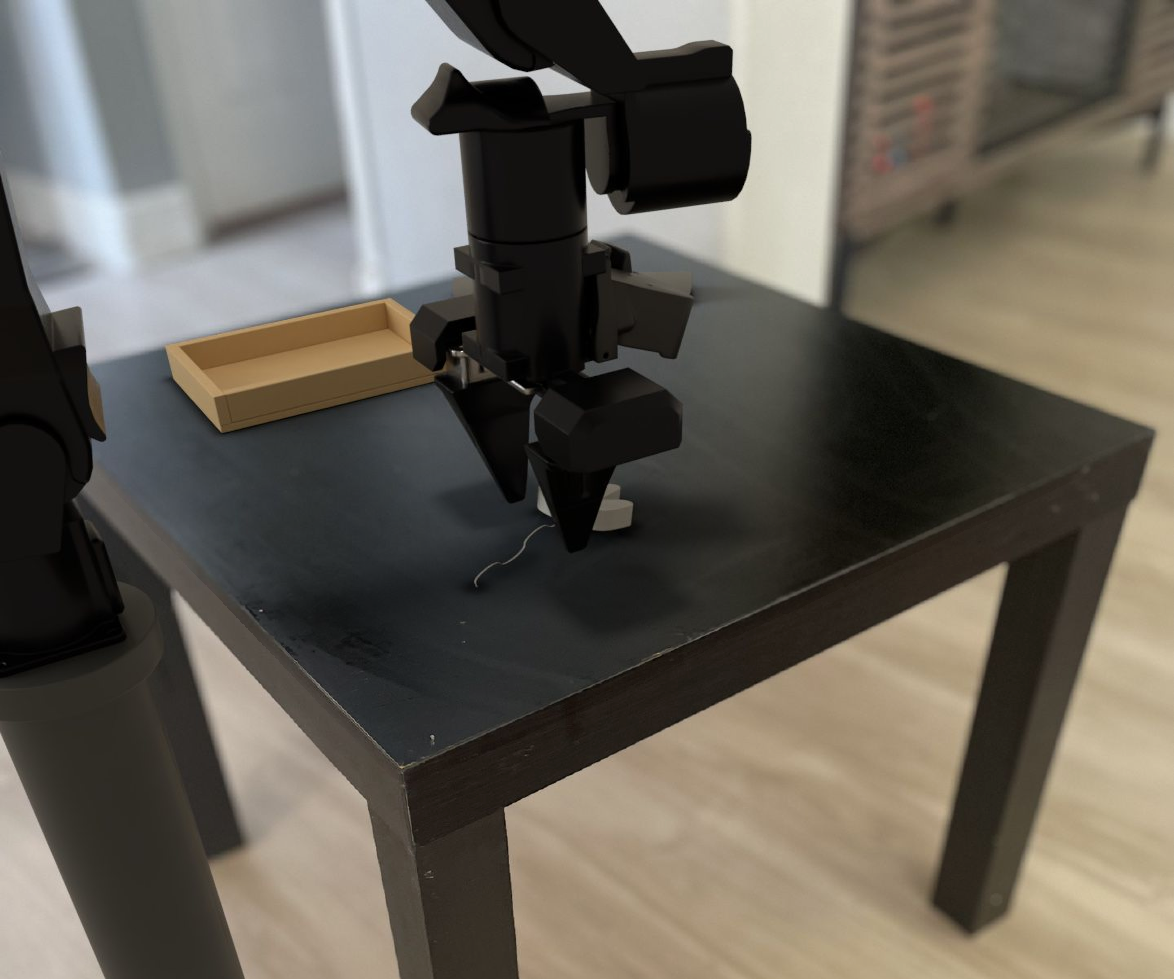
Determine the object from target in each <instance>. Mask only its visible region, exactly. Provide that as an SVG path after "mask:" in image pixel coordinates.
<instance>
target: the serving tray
mask: <svg viewBox="0 0 1174 979" xmlns="http://www.w3.org/2000/svg"><path fill="white" fill-rule="evenodd" d="M415 315H416V313H414V312H412V311H410V310H409V309H408V308H406V307H405V306H403V305H401V304H400V303H398V302H397V301H396V300H394V299H393V298H391V297H388V298H383V299H378V300H373V301H369V302H364V303H358V304H354V305H350V306H345V307H340V308H335V309H330V310H326V311H320V312H317V313H311V314H306V315H302V316H297V317H293V318H288V319H285V320H279V321H274V322H270V323H269V322H268V323H265V324H260V325H255V326H250V327H246V328H240V329H236V330H231V331H227V332H222V333H218V334H212V335H207V336H202V337H198V338H193V339H190V340H184V341H179V342H176V343H175V342H174V343H171V344H166V345H164V346H165V351H166V355H167V358H168V362H169V363H168V364H169V367H170V371H171V373H172V379H173V380H174V382H175V383H176V384H177V385H178V386H179V388H181V389H182V390H183V392H184V393H185V394H186V395H187V396H188V397H189V398H190V400H192V401H193V403H194V404H195V405H196V406H197V407H198V408H199V409H200V411H201V412H203V414H204V415H205V416H206V417H207V419H208V420H209V421H211V423H212V424H213V425H214V426H215V427H216V428H217V429H218V431H219V432H220V433H221V434H225V433H228V432H234V431H236V430H241V429H244V428H249V427H253V426H254V427H255V426H257V425H262V424H266V423H270V422H274V421H277V420H278V421H279V420H281V419H286V418H291V417H295V416H298V415H302V414H303V415H304V414H307V413H310V412H315V411H318V410H323V409H327V408H331V407H335V406H341V405H344V404H348V403H351V402H355V401H360V400H365V399H368V398H372V397H376V396H380V395H385V394H388V393H389V394H390V393H393V392H396V391H400V390H405V389H410V388H413V387H418V386H421V385H426V384H430V383H435V382H434V376H435V375H436V374H438V373H441V372H445V371H446V363H445V365H444V367H443V369H442V370H439V371H435V372H432V371H430V370H429V369H428V368H426V367H425V366H424V365H422V364H421V363H419V362H418V361H417V360H415V359H414V358H413V352H412V344H411V335H410V327H409V324H410V323H411V321H412V320H413V318H414V317H415Z"/></svg>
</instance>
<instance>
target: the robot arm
mask: <svg viewBox="0 0 1174 979" xmlns="http://www.w3.org/2000/svg"><path fill="white" fill-rule="evenodd" d="M424 1H425V3H427V5H428V6H429V7H430V8H431V9H432V10H433V12H434V13H435V14H436V16H438V17H439V19H440V20H441V21H442V22H443V23H444V25H446V27H447V28H448V29H449V31H451V33H452V34H453V35H454V36H455V37H456V38H458V40H460V41H462V42H464V43H466V44H467V45H469V46H471V47H472V48H474V49H476V50H478V51H479V52H481V53H482V54H484V55H487V56H488V57H490V58H492V59H493V60H495V61H497V62H499V63H501V64H503V65H505V66H506V67H507V68H510V69H512V70H514V71H518V72H523V73H531V72H536V71H540V70H545V69H546V70H547V69H549V70H552V71H553V72H555V73H557V74H560V75H562V76H563V77H565V78H567V79H569V80H571V81H573V82H575V83H576V84H579V85H581V86H583V87H585V88H587V89H588V90H589V91H581V92H580V91H579V92H572V93H561V94H547V95H544V94H543V93H542V91H541V89H540V87H539V85H538V84H537V82H536V81H535V79H533V78H532V77H530V76H528V75H523V76H513V77H503V78H493V79H492V78H491V79H484V80H475V81H469V80H468V79H467V78H466V77H465V75H464V74H463V72H462V71H461V70H460V69H458V68H457V67H455V66H454V65H452V64H450V63H449V62H442V63H441V64H439V67H438V68H437V72H436V75H435V76H434V79H433V81H432V82H431V84H430V85H429V86H428V87H427V89H426V90H425V91H423V93H422V94H421V95H420V96H419V97H418V99H417V100H416V101H415V102H413V104H412V105H411V107H410V116H411V118H412V119H413V120H414V121H415V122H416V123H417V124H418V125H420V126H421V127H422V128H423V129H425V130H426V131H428V133H429V134H430V135H432V136H436V137H438V136H449V135H457V134H458V141H459V148H460V149H459V151H460V162H461V174H462V175H461V176H462V185H463V198H464V208H465V219H466V230H467V232H466V233H467V241H468V242H467V243H468V244H465V245H460V246H456V247H452V248H453V257H454V267H455V268H454V269H455V270H456V271H457V272H459V273H461V274H463V275H464V276H465V277H467V278H468V277H470V278H471V279H472V289H473V294H469V295H465V296H460V297H456V298H454V297H451V298H446V299H443V300H437V301H433V302H428V303H423V304H421V306H420V307H419V309H418V311H417V312H416V313H415V317H414V318H413V320H412V321H411V323H410V324H409V327H410V335H411V344H412V352H413V358H414V359H415V360H417V361H418V362H419V363H421V364H422V365H424V366H425V367H426V368H428V369H429V370H430V371H432V372H435V371H439V370H442V369H443V367H444V365H445V363H446V371H445V372H441V373H438V374H436V375H435V376H434V382H433V383H434V384H435V386H436V387H437V388H438V389H439V391H441V393H442V394H443V396H444V397H445V399H446V401H447V402H448V404H449V406H450V407H451V409H452V411H453V413H454V415H455V416H456V418H457V419H458V421H459V422H460V424H461V426H462V427H463V429H464V430H465V432H466V434H467V436H468V437H469V439H470V441H471V443H472V444H473V446H474V448H475V449H476V451H477V453H478V454H479V455H478V456H480V459H481V460H482V461H483V463H484V465H485V467H486V468H487V470H488V472H489V474H490V476H491V477H492V479H493V481H494V484H496V486H497V488H498V490H499V492H500V493H501V495H502V497H503V498H504V500H505V502H507V503H508V504H515V503H519V502H522V501H524V500H525V499H526V496H527V485H528V475H529V474H528V473H529V464H530V466H531V469H532V471H533V474H534V476H535V478H536V482H537V483H538V487H539V486H540V489H541V491H542V494H543V496H544V499H545V501H546V504H547V506H548V509H549V512H550V514H551V516H550V517H551V519H552V522H553V525H555V526H554V527H555V529H556V531H557V533H558V536H559V538H560V540H561V543H562V545H563V547H564V549H565V551H566V552H568V553H569V554H574V553H577V552H578V553H579V552H580V551H583V550H585V549H586V548H587V547H588V545H589V542H590V538H591V535H592V532H593V531H594V530H593V527H594V524H595V521H596V518H597V515H598V512H599V509H600V506H601V503H602V500H603V497H604V494H605V491H606V489H607V486H608V484H610V481H611V479H612V477H613V474H614V472H615V470H616V469H617V466H621V465H624V464H627V463H631V462H634V461H638V460H641V459H644V458H648V457H652V456H655V455H658V454H662V453H666V452H668V451H672V450H676V449H679V448H680V446H681V445H682V442H683V411H684V409H683V407H684V406H683V402H681V401H680V400H679V399H678V398H677V397H676V396H675V394H673V393H672V392H670V391H669V389H667V388H665V387H664V386H662V385H660V384H659V383H657V382H655V381H653V380H651V379H650V378H648V377H647V376H644V375H643V374H641V373H639V372H638V371H636V370H634V369H632V368H631V367H628V366H627V367H624V368H621V369H616V370H612V371H608V372H604V373H600V374H597V375H592V376H591V375H589V374H587V373H586V372H584V370H586V363H590V362H595V363H596V364H602V363H605V362H609V361H613V360H617V359H619V347H618V346H620V347H624V348H627V349H628V348H629V349H634V350H641V351H644V352H645V351H646V352H650V353H651V352H652V353H656V354H657V353H658V354H659V357H660V358H662V359H668V360H677V359H678V355H679V352H680V350H681V346H682V341H683V339H684V335H685V332H686V329H687V326H688V322H689V319H690V315H691V311H692V309H693V306H694V302H695V297H694V296H692V295H691V294H690V295H689V294H687V293H684V292H682V291H680V290H678V289H676V288H674V287H672V286H670V285H667V284H665V283H663V282H661V281H659V280H656V279H654V278H651V277H648V276H645V275H643V274H641V273H640V271H636V270H635V271H634V270H633V267H632V259H631V253H630V252H629V250H626V249H624V248H622V247H621V246H617V245H615V244H613V243H609V242H605V241H602V240H596V239H591V240H590V241H589V230H588V229H589V226H588V196H587V195H588V194H587V178H588V182H589V184H590V186H591V188H592V190H593V191H594V193H595V194H596V195H598V196H603V195H607V198H608V200H609V202H610V204H611V206H612V208H613V209H614V210H615V212H616V213H617V214H619V215H621V216H629V215H636V214H644V213H652V212H659V211H666V210H672V209H674V210H675V209H681V208H688V207H689V208H690V207H696V206H703V205H711V204H719V203H725V202H726V203H727V202H732V201H734V200H735V199H737V198H738V197H739V196H740V194H741V193H742V191H743V189H744V187H745V184H746V182H747V178H748V174H749V171H750V165H751V156H752V142H753V141H752V140H753V138H752V137H753V136H752V132H751V130H750V129H749V128H748V122H747V121H748V120H747V113H746V108H745V104H744V103H745V102H744V100H743V96H742V92H741V89H740V87H739V84H738V83H737V80H736V78H735V77H734V75H733V66H734V65H733V63H734V61H733V60H734V50H733V48H732V47H731V46H730V45H729V44H726V43H723V42H720V41H719V40H714V39H706V40H697V41H691V42H687V43H684V44H683V45H680V46H678V47H674V48H666V49H665V48H664V49H655V50H647V51H637V52H636V51H634V52H633V50H632V49H631V48H630V46H629V45H628V43H627V42H626V40H625V39H624V37H623V35H622V34H621V32H620V30H618V28H617V26H616V24H615V23H614V22H613V20H612V19H611V17H610V16H609V14H608V12H607V11H606V9H605V8H604V6H603V5H602V4H601V2H600V1H599V0H424ZM87 359H88V357H87V345H86V337H85V326H84V318H83V309H82V307H81V306H80V305H79V306H78V305H77V306H72V307H67V308H64V309H60V310H56V311H51V309H50V307H49V305H48V303H47V301H46V299H45V297H44V295H43V293H42V292H41V289H40V287H39V285H38V283H37V281H36V279H35V277H34V275H33V272H32V270H31V268H30V265H29V262H28V258H27V254H26V249H25V244H24V240H23V237H22V233H21V229H20V224H19V220H18V215H17V212H16V208H15V204H14V201H13V196H12V191H11V188H10V183H9V179H8V175H7V171H6V166H5V163H4V159H3V154H2V151H1V149H0V678H4V677H8V676H11V675H14V674H18V673H21V672H24V671H28V670H31V669H34V668H38V667H41V666H44V665H48V664H51V663H54V662H58V661H61V660H64V659H68V658H71V657H74V656H78V655H81V654H84V653H88V652H91V651H94V650H98V649H101V648H104V647H108V646H111V645H114V644H118V643H121V642H123V641H124V640H126V638H127V634H126V631H125V628H124V626H123V625H122V623H121V621H120V619H119V617H118V616H117V614H121V613H123V611H124V609H125V606H124V603H123V600H122V597H121V594H120V591H119V587H118V584H117V579H116V575H115V571H114V569H113V565H112V562H111V559H110V556H109V553H108V550H107V546H106V543H105V541H104V539H103V537H102V536H101V534H100V532H99V530H98V529H97V528H96V526H95V523H94V522H92V521H90V520H88V519H85V520H84V516H83V514H82V513H81V511H80V509H79V508H78V506H77V504H76V502H75V500H74V499H76V497H78V495H79V494H80V493H81V492H82V490H83V489H84V487H85V486H86V485H87V484H88V483H89V482H90V481H91V478H92V474H93V470H94V458H93V457H94V456H93V445H92V444H93V442H92V440H95V441H97V442H100V443H104V442H106V441H107V431H106V424H105V423H106V422H105V416H104V415H105V414H104V407H103V399H102V398H103V397H102V391H101V385H100V383H99V382H98V380H97V379H96V377H95V376H94V374H93V373H92V371H91V370H90V366H89V364H88V360H87ZM535 396H538V397H540V398H541V399H540V400H539V402H538V403H537V405H536V406H535V408H534V409H533V424H534V434H535V436H536V438H537V440H535V441H531V442H530V423H531V422H530V419H531V417H530V416H531V404H532V402H533V400H534V398H535Z"/></svg>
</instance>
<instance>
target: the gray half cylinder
mask: <svg viewBox="0 0 1174 979" xmlns="http://www.w3.org/2000/svg"><path fill="white" fill-rule="evenodd" d="M639 273H641V274H643V275H645V276H648V277H651V278H654V279H656V280H659V281H661V282H663V283H665V284H667V285H670V286H672V287H674V288H676V289H678V290H680V291H682V292H684V293H687V294H689V295H691V293H692V289H693V281H694V280H693V272H692V270H679V271H677V270H676V271H646V272H645V271H644V272H640V271H639ZM469 294H473V289H472V279H471V278H470V277H468V276H467V277H453V279H452V295H453V298H456V297H460V296H465V295H469Z"/></svg>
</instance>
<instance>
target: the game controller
mask: <svg viewBox="0 0 1174 979" xmlns="http://www.w3.org/2000/svg"><path fill="white" fill-rule="evenodd" d="M620 497H621V486H620V485H618V484H614V483H608V486H607V489H606V491H605V494H604V497H603V500H602V503H601V506H600V509H599V512H598V515H597V518H596V521H595V524H594V527H593V530H592V531H597V532H598V531H599V532H607V531H613V530H614V531H615V530H618V529H619V530H620V529H623V528H627V527H630V526H631V525H632V517H633V508H634V503H633V502H632V501H631V500H626V499H620ZM536 503H537V505H536V507H537V509H538V510H539V511H540V512H542V513H543V514H545V515H547V516H549V517H551V514H550V512H549V509H548V506H547V504H546V501H545V499H544V496H543V494H542V491H541V489H540V486H539V485H538V488H537V502H536ZM546 526H547V527H548V528H553V527H555V524H553V525H548V524H543V525H541V526H539V527H537V528H536V529H534V530H533V531H532V532H531V533H530V534H528V536H527V537H525V539H524V541H523V546H522V547H521V549H520V550H519V551H518V553H516V555H514V556H513V557H512V558H510V559H509V560H507V561H505V562H502V563H501V562H498V561H497V562H494V563H491V564H490V565H488V566H487V567H485V568H484V569H483V570H481V571H480V573H478V575H477V576H476V577H475V578H474V582H473V583H474V586H475V587H476V588H478V585H477V580H478V579H479V578H480V577H481V575H482V574H483V573H484V572H485V571H487V570H488V569H489V568H491V567H492V566H494V565H496V564H500V565H506V564H508V563H510V562H511V561H513V560H515V559H516V558H517V557H518V556H519V555H520V554H521V553H523V551H524V549H525V548H526V543H527V541H528V540H529V538H530V537H531V536H532V535H533V534H535V533H536V532H537V531H539V530H540V529H542V528H543V527H546Z"/></svg>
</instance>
